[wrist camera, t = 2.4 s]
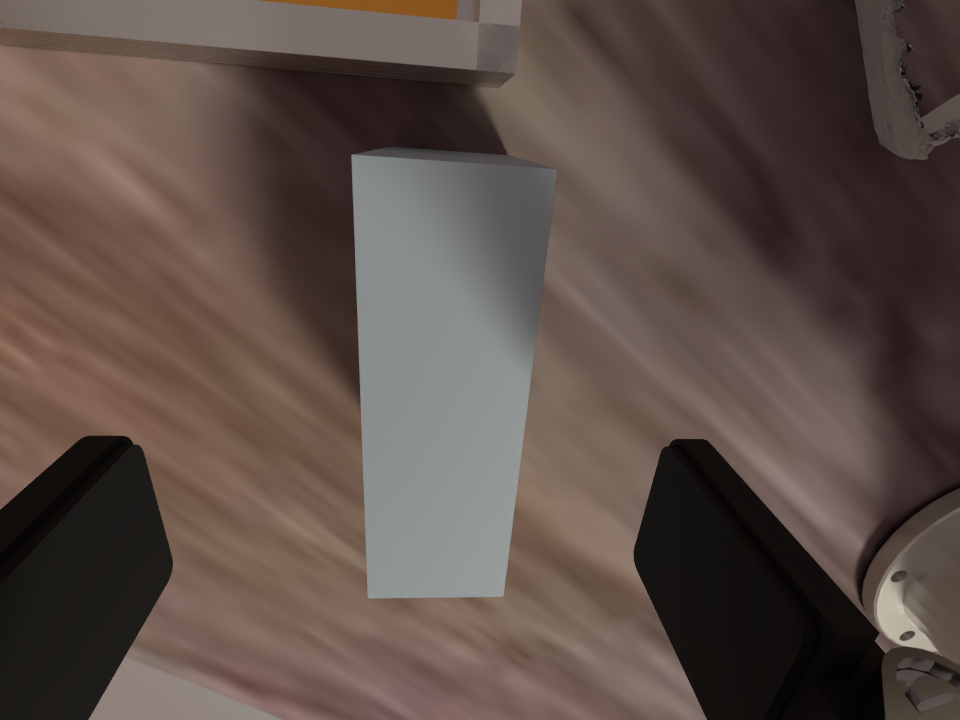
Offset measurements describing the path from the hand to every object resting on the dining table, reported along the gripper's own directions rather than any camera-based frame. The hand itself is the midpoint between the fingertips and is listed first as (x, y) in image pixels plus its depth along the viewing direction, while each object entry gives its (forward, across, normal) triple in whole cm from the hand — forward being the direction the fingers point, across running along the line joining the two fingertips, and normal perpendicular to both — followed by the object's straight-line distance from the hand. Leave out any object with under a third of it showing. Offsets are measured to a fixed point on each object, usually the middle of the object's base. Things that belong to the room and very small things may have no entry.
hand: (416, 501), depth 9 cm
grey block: (+11, -1, 0) cm, 11 cm away
